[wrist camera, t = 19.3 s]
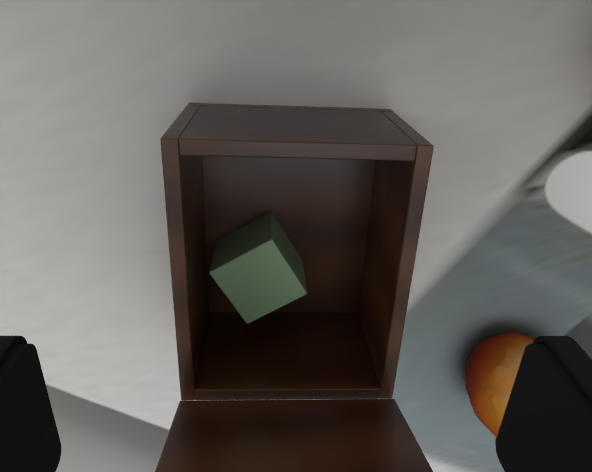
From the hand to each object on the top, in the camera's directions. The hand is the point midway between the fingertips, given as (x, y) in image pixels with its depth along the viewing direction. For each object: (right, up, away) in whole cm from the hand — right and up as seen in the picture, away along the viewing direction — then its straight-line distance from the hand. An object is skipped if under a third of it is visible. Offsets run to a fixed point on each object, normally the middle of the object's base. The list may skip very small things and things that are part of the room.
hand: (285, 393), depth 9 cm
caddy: (0, +4, +24) cm, 24 cm away
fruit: (+17, -7, +30) cm, 36 cm away
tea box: (0, +2, +22) cm, 22 cm away
